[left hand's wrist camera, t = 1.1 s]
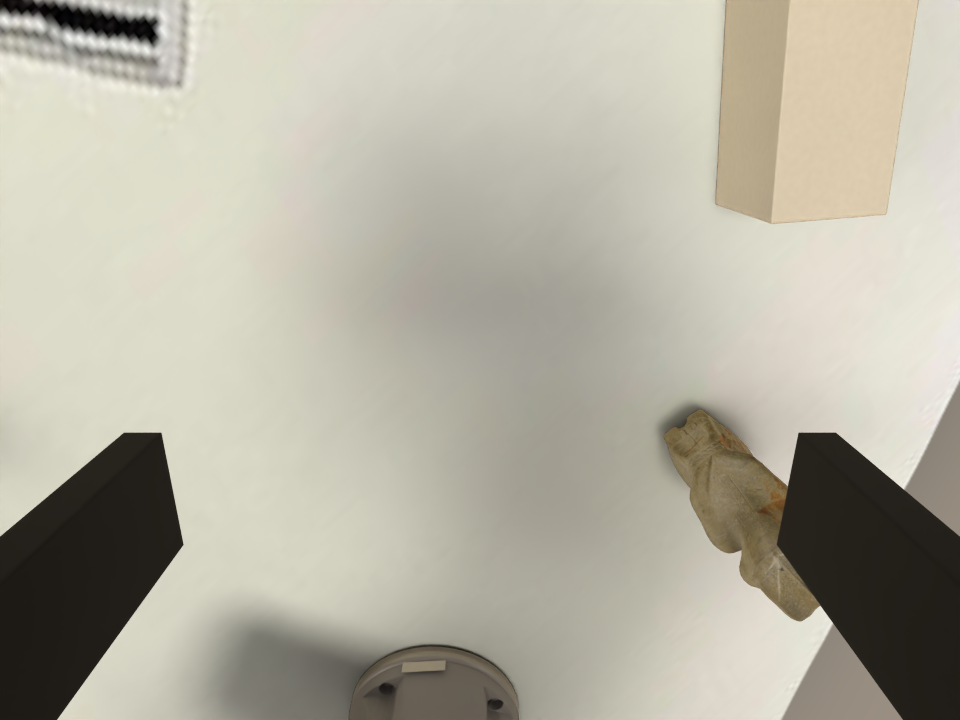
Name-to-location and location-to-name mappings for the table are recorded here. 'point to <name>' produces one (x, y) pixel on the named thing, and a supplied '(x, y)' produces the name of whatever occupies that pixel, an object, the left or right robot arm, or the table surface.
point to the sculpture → (739, 507)
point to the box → (812, 106)
